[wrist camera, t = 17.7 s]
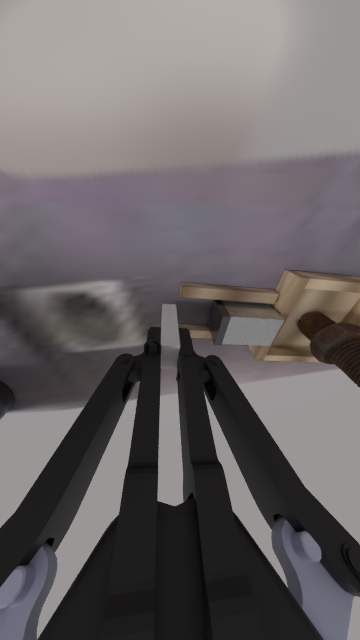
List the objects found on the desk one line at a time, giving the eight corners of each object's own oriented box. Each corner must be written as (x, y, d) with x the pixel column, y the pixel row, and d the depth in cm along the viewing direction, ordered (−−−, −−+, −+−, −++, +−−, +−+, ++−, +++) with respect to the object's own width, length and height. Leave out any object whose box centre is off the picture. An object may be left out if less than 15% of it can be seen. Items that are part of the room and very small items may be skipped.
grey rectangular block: (207, 324, 21) (214, 344, 18) (214, 298, 19) (223, 316, 16) (255, 327, 21) (269, 346, 18) (267, 302, 19) (285, 320, 16)
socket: (173, 344, 23) (174, 357, 21) (183, 259, 16) (185, 267, 14) (318, 349, 25) (331, 362, 23) (376, 278, 19) (402, 287, 17)
